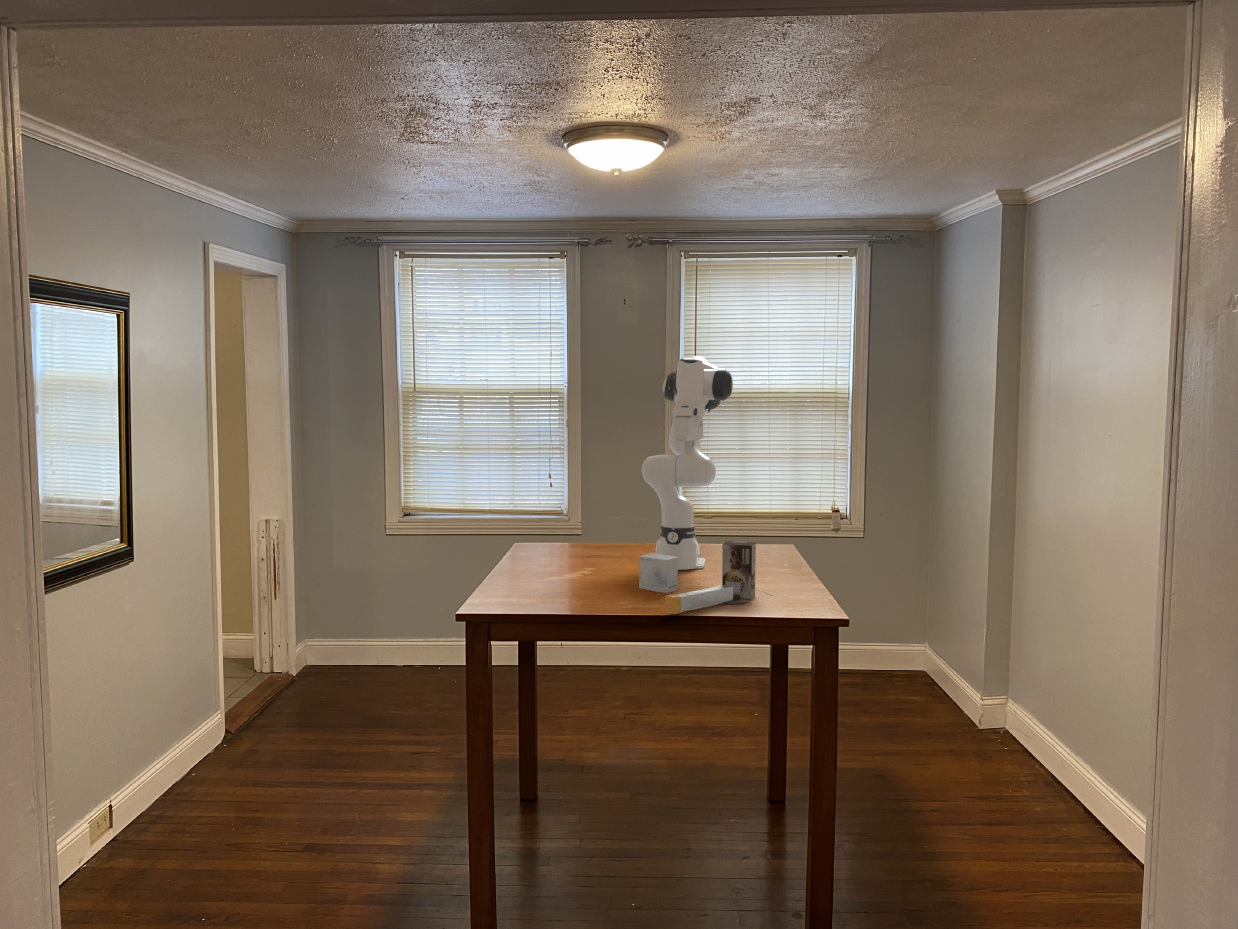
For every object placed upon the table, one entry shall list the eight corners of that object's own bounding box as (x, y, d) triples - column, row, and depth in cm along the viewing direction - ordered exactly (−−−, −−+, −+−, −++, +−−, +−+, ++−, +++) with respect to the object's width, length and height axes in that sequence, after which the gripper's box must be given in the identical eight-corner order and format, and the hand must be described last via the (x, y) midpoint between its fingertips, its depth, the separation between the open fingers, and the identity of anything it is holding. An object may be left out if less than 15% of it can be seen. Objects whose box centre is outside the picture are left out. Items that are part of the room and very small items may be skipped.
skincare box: (638, 589, 273) (638, 555, 273) (650, 585, 278) (650, 552, 278) (666, 593, 267) (667, 559, 266) (678, 590, 272) (678, 556, 271)
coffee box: (755, 595, 266) (756, 541, 265) (751, 599, 260) (752, 545, 259) (725, 592, 269) (726, 540, 268) (721, 597, 263) (722, 543, 262)
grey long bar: (731, 596, 260) (732, 579, 259) (743, 599, 257) (743, 581, 256) (664, 611, 241) (664, 592, 241) (675, 614, 238) (676, 595, 238)
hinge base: (723, 598, 261) (723, 595, 261) (747, 600, 259) (747, 597, 259) (717, 603, 255) (718, 600, 255) (742, 605, 252) (742, 602, 252)
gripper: (689, 409, 285) (688, 452, 286) (670, 410, 265) (670, 456, 266) (708, 410, 282) (707, 453, 283) (691, 410, 263) (690, 457, 264)
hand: (689, 455), depth 275 cm, fingers closed
